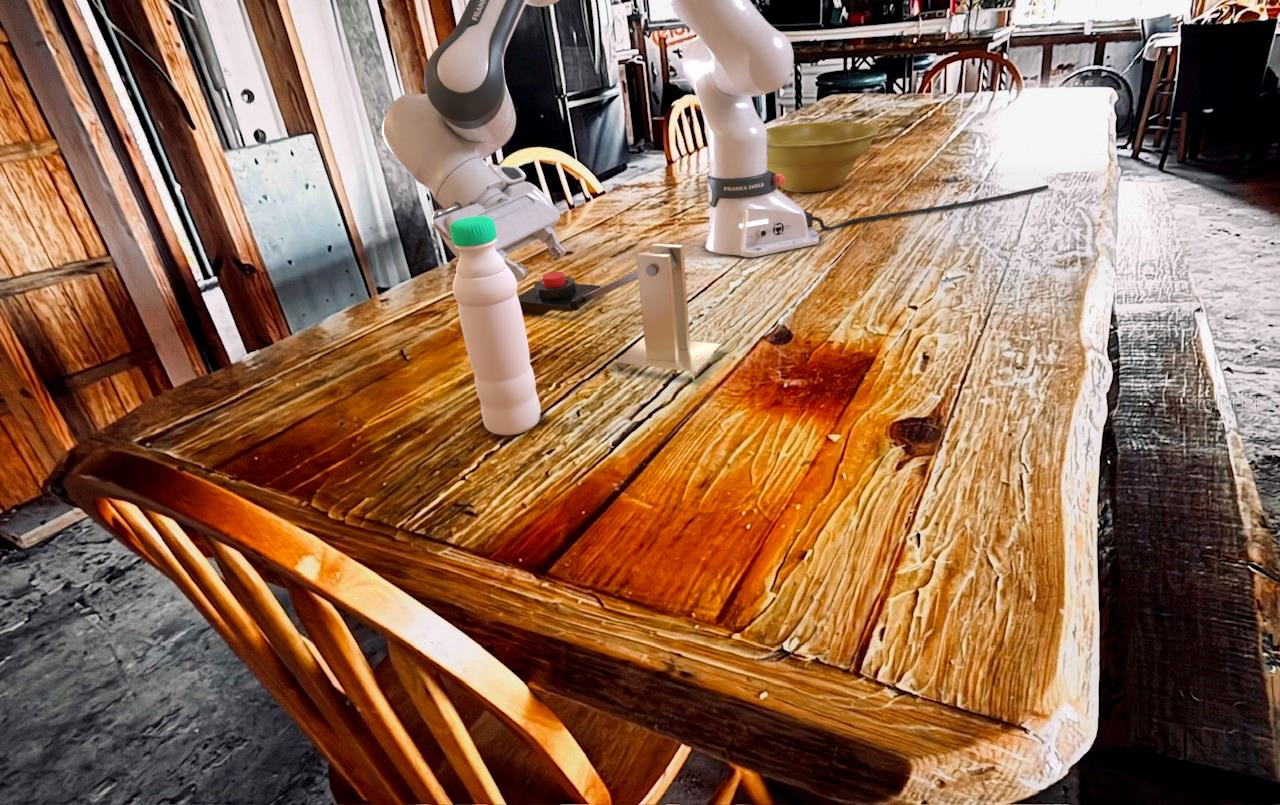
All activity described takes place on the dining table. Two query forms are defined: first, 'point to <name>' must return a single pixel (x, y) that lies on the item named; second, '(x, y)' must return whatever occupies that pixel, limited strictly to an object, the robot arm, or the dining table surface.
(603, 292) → the lever
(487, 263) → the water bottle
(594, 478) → the dining table surface
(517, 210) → the robot arm
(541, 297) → the control block
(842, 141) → the planter bowl
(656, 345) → the bracket
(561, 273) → the button
